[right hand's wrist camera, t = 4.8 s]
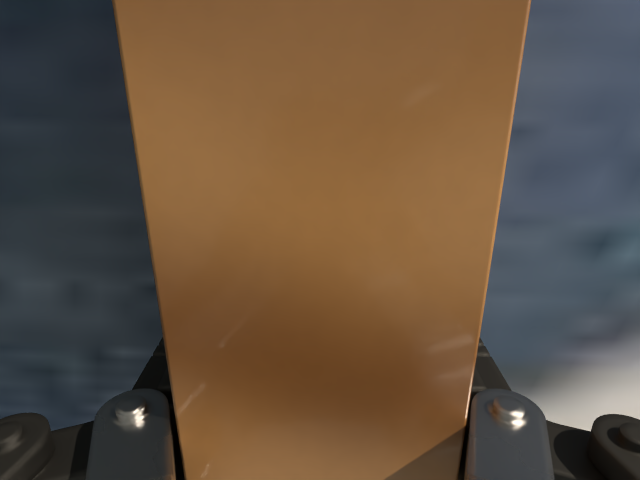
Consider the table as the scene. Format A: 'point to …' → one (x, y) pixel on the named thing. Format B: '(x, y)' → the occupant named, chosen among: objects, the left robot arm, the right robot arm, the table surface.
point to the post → (321, 223)
